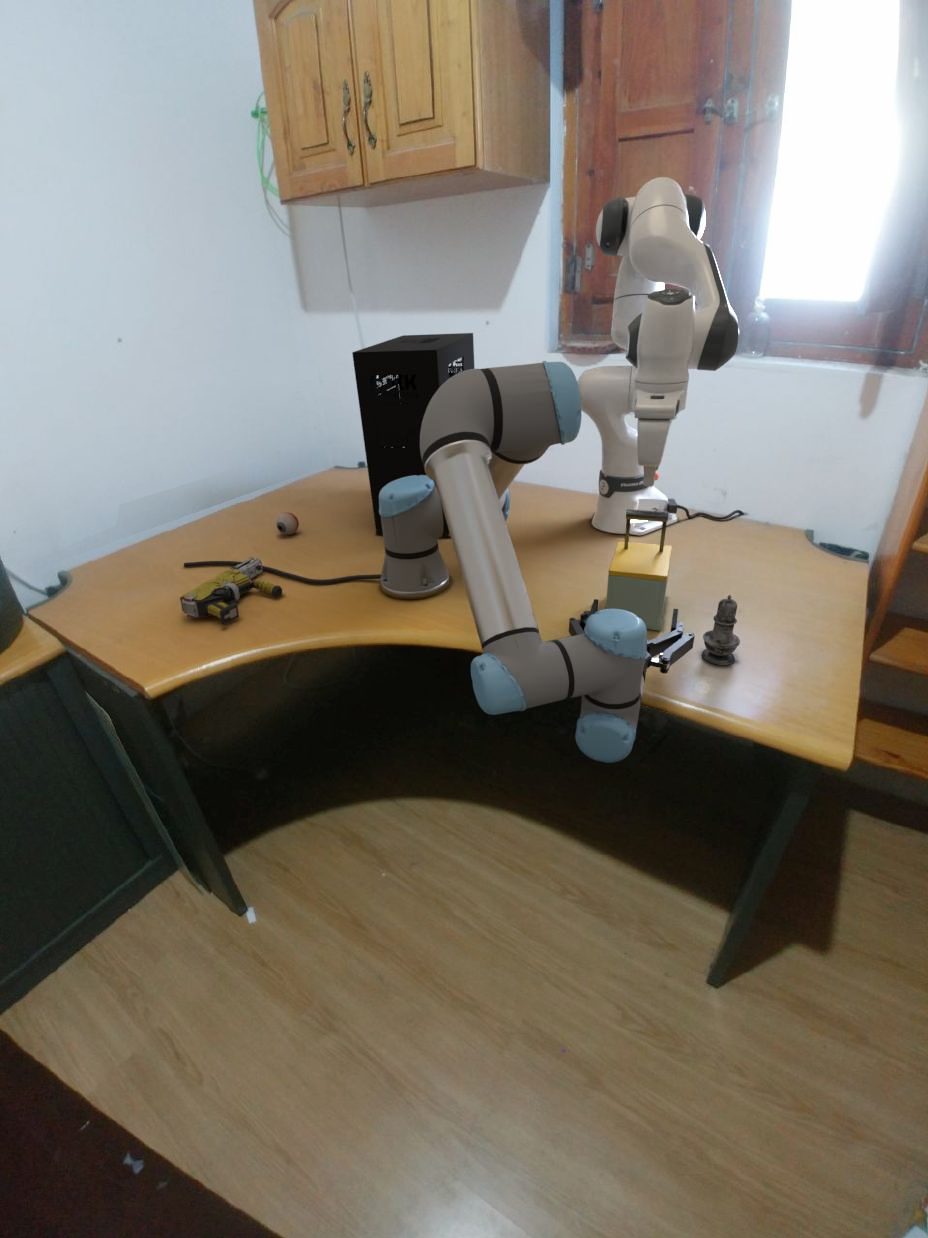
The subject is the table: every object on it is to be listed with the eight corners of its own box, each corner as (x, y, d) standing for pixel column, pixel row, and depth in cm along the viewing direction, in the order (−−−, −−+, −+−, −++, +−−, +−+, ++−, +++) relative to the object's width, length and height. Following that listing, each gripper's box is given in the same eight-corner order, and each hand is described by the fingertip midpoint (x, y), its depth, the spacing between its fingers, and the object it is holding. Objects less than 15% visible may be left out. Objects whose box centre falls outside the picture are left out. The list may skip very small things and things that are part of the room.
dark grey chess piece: (739, 667, 101) (752, 604, 95) (702, 664, 102) (713, 602, 96) (733, 648, 106) (745, 587, 100) (697, 646, 107) (708, 585, 101)
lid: (618, 545, 122) (621, 503, 118) (671, 550, 119) (677, 506, 114) (608, 575, 111) (611, 529, 106) (666, 581, 107) (672, 534, 103)
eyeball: (273, 537, 164) (268, 516, 161) (287, 528, 169) (282, 508, 166) (291, 539, 161) (286, 518, 158) (305, 530, 166) (301, 510, 163)
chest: (614, 592, 127) (617, 547, 122) (665, 597, 123) (671, 551, 118) (604, 623, 116) (608, 575, 111) (660, 630, 113) (666, 581, 107)
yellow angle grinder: (303, 565, 139) (248, 554, 143) (236, 611, 119) (174, 596, 122) (305, 584, 141) (250, 572, 145) (239, 632, 121) (178, 617, 125)
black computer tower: (449, 537, 157) (436, 349, 134) (376, 534, 161) (352, 352, 139) (479, 491, 188) (473, 332, 166) (417, 489, 193) (403, 335, 170)
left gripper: (536, 684, 96) (564, 619, 113) (704, 713, 88) (706, 638, 105) (536, 645, 92) (565, 583, 109) (712, 670, 84) (713, 600, 101)
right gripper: (646, 386, 113) (639, 460, 119) (633, 409, 96) (626, 493, 103) (681, 387, 111) (672, 462, 117) (675, 410, 94) (665, 495, 101)
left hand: (634, 610), depth 107 cm, fingers open, 13 cm apart
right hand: (650, 477), depth 110 cm, fingers open, 8 cm apart
